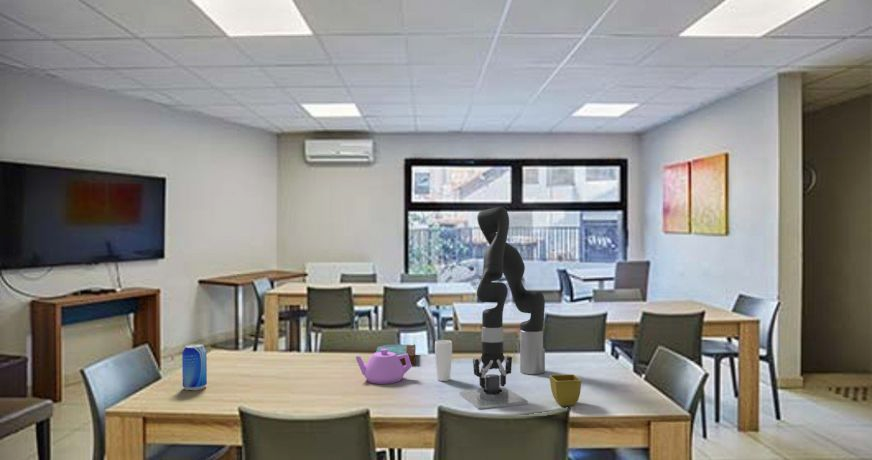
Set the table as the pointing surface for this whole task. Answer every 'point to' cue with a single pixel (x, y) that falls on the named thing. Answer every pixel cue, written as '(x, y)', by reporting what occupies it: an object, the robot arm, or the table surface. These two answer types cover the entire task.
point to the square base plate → (493, 398)
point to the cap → (492, 383)
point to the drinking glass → (443, 359)
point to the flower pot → (565, 389)
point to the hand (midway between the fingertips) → (492, 386)
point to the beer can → (194, 367)
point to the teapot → (384, 367)
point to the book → (400, 351)
